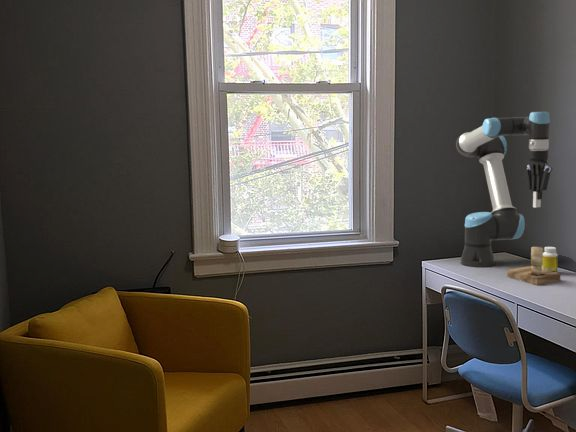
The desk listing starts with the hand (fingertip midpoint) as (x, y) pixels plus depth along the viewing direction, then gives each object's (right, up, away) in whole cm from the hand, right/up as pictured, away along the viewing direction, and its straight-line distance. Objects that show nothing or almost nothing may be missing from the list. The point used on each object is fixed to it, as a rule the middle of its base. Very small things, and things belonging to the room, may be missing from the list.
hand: (536, 207), depth 256 cm
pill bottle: (+9, -28, +9) cm, 31 cm away
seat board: (-1, -30, 0) cm, 30 cm away
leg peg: (-2, -30, -4) cm, 31 cm away
